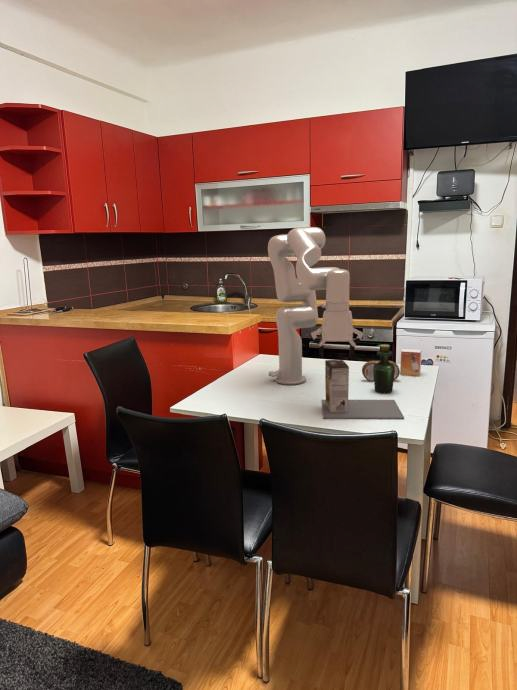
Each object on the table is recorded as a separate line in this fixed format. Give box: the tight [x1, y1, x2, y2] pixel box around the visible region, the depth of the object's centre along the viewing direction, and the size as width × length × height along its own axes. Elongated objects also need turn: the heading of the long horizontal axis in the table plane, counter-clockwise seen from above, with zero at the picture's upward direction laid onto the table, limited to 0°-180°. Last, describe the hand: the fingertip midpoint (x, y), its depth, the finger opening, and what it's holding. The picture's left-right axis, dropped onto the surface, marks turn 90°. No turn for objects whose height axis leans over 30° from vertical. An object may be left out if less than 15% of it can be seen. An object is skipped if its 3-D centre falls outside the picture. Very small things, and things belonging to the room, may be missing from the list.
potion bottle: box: [373, 343, 395, 395], centre depth 187 cm, size 8×8×18 cm
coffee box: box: [324, 359, 350, 412], centre depth 168 cm, size 9×6×16 cm
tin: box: [361, 360, 400, 382], centre depth 201 cm, size 15×3×8 cm, turn 84°
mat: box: [321, 399, 405, 420], centre depth 169 cm, size 26×18×1 cm
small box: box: [399, 348, 422, 377], centre depth 209 cm, size 8×6×10 cm
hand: (336, 357), depth 166 cm, fingers open, 9 cm apart
